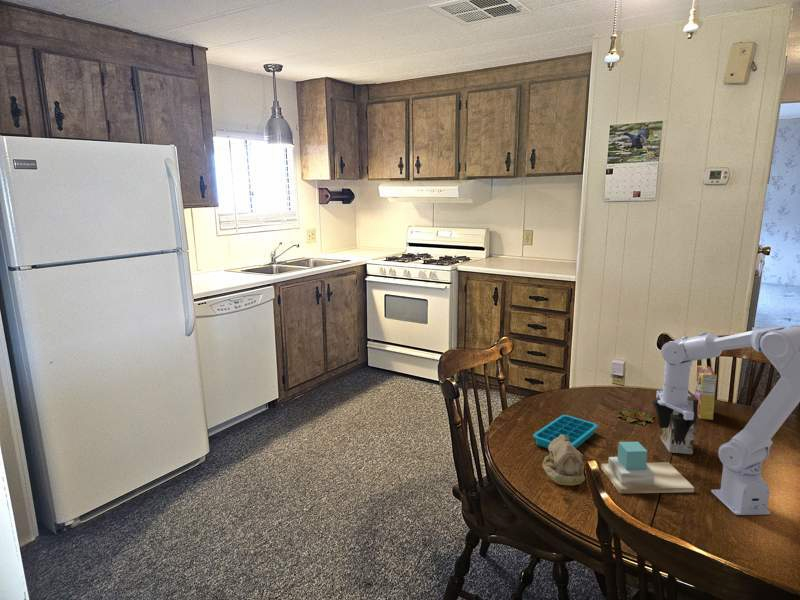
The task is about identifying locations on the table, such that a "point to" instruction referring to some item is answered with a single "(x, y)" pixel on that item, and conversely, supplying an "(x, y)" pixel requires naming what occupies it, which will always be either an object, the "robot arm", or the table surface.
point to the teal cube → (632, 455)
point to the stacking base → (660, 480)
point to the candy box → (705, 392)
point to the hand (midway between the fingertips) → (671, 433)
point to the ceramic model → (564, 462)
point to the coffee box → (688, 442)
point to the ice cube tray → (565, 431)
